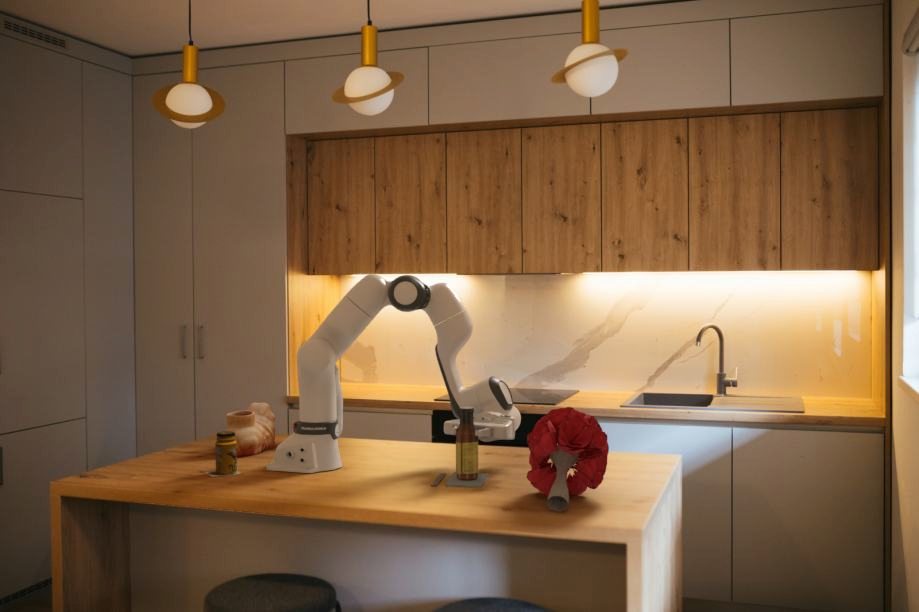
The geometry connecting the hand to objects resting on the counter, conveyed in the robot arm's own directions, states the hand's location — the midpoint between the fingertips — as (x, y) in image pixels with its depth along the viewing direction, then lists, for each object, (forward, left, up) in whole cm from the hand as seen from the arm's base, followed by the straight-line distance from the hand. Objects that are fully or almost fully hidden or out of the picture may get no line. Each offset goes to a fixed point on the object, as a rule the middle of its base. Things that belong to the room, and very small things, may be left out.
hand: (465, 433), depth 243 cm
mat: (0, +1, -14) cm, 14 cm away
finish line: (-8, +1, -14) cm, 16 cm away
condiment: (-72, +1, -14) cm, 73 cm away
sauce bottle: (0, +1, -13) cm, 13 cm away
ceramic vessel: (-78, +37, -14) cm, 87 cm away
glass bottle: (-57, +55, -14) cm, 80 cm away
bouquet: (+27, -16, -14) cm, 35 cm away
